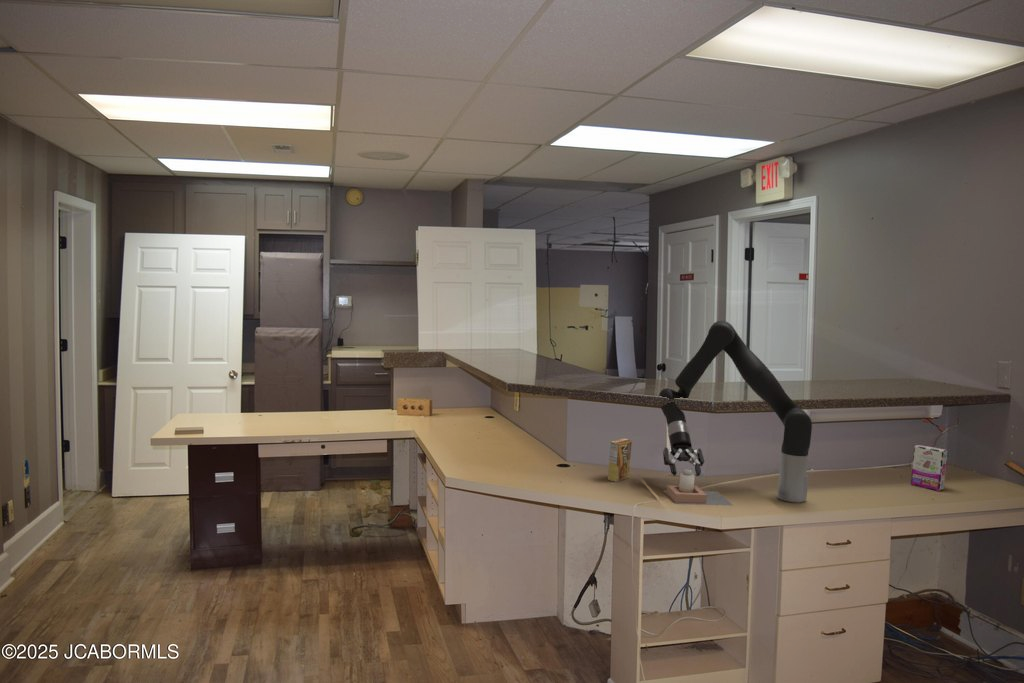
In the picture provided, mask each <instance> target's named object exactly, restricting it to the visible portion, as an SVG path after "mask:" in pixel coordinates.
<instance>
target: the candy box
mask: <svg viewBox="0 0 1024 683" xmlns="http://www.w3.org/2000/svg"><path fill="white" fill-rule="evenodd" d="M632 442H633V441H632V440H631V439H628V438H620V439H616V440H611V441H610V445H609V446H610V447H609V462H608V474H607V480H608V481H611V482H614V481H615V482H614V483H617V482H619V481H620V482H621V481H624V480H627V478H628V479H629V478H630V467H631V456H632V454H631V453H632ZM623 479H624V480H623Z"/></svg>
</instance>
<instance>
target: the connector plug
mask: <svg viewBox="0 0 1024 683" xmlns="http://www.w3.org/2000/svg"><path fill="white" fill-rule="evenodd" d="M679 475H680V476H679V484H678V485H679V492H680V493H693V490H694V486H695V480H696V479H695V476H696V474H694V473H693V470H692V469H688V468H685V469H683V471H682V472H680V474H679Z"/></svg>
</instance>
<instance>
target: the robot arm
mask: <svg viewBox="0 0 1024 683" xmlns="http://www.w3.org/2000/svg"><path fill="white" fill-rule="evenodd" d="M722 351H723V352H724V353H726V354H727V355H728V357H729V358H730V359H731V361H732V362H733V364H734V366H735V367H736V369H737V371H738V373H739V374H740V376H741V377H742V379H743V380H744V381H745V383H746V384H747V385H748V386H749V388H750V389H751V390H752V391H753V392H754V393H755V394H756V395H757V396H758V397H759V398H760V399H761V400H763V401H764V402H765V403H766V404H767V405H769V406H770V408H771V409H772V410H773V411H774V412H775V414H776V415H777V417H778V418H779V420H780V422H781V423H782V425H783V426H784V430H783V440H782V444H781V448H780V449H781V451H780V452H781V453H780V462H779V463H780V464H779V474H778V485H777V495H776V496H777V499H779V500H782V501H785V502H789V503H803V502H807V498H808V497H807V496H808V495H807V494H808V486H809V485H808V484H809V475H808V474H807V469H808V460H809V451H810V446H811V439H812V429H813V421H812V418H811V417H810V416H809V414H808V413H807V412H806V411H804V410H803V409H802V408H801V407H800V406H798V404H797V403H796V402H794V401H793V400H792V398H791V397H790V396H789V395H788V394H787V392H786V391H785V390H784V388H783V386H782V385H781V383H780V381H778V379H777V378H776V377H775V375H774V374H773V373H772V372H771V370H770V369H769V368H768V367H767V366H766V365H765V363H764V362H763V361H762V360H761V359H760V358H759V357H758V356H757V355H756V354H755V353H754V352H753V351H752V350H751V349H750V348H749V347H748V346H747V345H746V344H745V341H743V340H742V338H741V337H740V335H739V334H738V332H737V331H736V330H735V328H734V326H733V325H732V324H731V323H729V322H728V321H726V320H717V321H716V322H714V323H713V324H712V325H711V326H710V327H709V329H708V332H707V335H706V337H705V339H704V341H703V343H702V344H701V346H700V347H699V349H698V351H697V352H696V354H694V356H693V357H692V358H691V359H690V360H689V361H688V362H687V364H686V365H685V366H684V367H683V369H681V371H680V372H679V374H678V376H677V377H676V379H675V380H674V381H675V382H674V383H675V385H676V386H677V388H678V391H676V390H675V389H671V388H663V389H661V391H660V392H659V394H658V397H659V396H662V397H667V398H669V399H674V398H680V397H683V398H688V399H689V396H690V394H691V393H692V389H693V388H694V387H695V386H696V384H697V383H698V382H699V380H700V379H701V378H702V376H703V375H704V373H705V372H706V370H707V369H708V367H709V366H710V364H711V363H712V362H713V361H714V359H715V358H717V356H718V355H719V354H720V353H721V352H722ZM660 409H661V412H662V413H663V416H664V417H665V419H666V420H665V421H666V425H667V433H668V434H667V436H668V439H669V445H670V448H668V447H664V449H663V451H662V454H663V455H662V456H663V464H664V465H665V466H669V469H670V474H671V475H672V476H676V475H677V466H676V462H677V461H678V462H689V463H690V464H691V465H692V466H693V467H694V469H695V470H694V471H695V476H696V477H700V475H701V473H702V469H701V467H702V466H704V463H705V458H704V455H703V454H704V453H703V452H702V449H701V448H697V449H693V446H692V441H691V436H690V431H689V428H688V425H687V420H686V415H685V413H684V411H683V410H682V409H681V410H680V409H679V408H678V407H677V406H676V404H675V402H670V403H667V404H666V405H663V406H661V407H660ZM670 454H671V455H672V456H673V457H672V459H671V460H670V456H669V455H670Z"/></svg>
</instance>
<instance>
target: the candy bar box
mask: <svg viewBox="0 0 1024 683" xmlns="http://www.w3.org/2000/svg"><path fill="white" fill-rule="evenodd" d="M947 460H948V449H945V448H944V449H943V448H939V447H933V446H927V445H922V444H916V445H914V446H913V456H912V467H911V475H910V478H911V479H910V485H911V486H914V485H915V487H918V486H919V487H918V488H923V489H927V490H932V491H936V492H941V491H943V490H945V480H946V472H947V471H946V469H947V462H948V461H947Z"/></svg>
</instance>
